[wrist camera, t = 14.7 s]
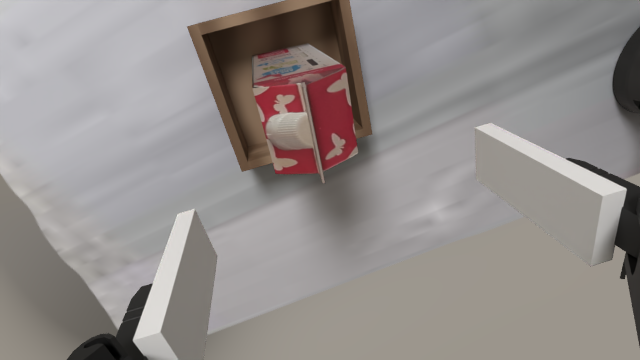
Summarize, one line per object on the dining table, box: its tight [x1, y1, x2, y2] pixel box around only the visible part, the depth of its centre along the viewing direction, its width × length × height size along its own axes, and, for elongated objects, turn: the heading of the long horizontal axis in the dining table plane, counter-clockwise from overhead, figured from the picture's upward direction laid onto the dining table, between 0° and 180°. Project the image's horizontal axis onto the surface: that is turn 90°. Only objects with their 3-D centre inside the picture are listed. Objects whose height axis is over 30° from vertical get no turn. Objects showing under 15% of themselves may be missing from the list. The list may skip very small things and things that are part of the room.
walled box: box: [187, 0, 372, 172], centre depth 41 cm, size 16×16×6 cm
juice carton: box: [252, 43, 358, 183], centre depth 33 cm, size 7×7×22 cm
